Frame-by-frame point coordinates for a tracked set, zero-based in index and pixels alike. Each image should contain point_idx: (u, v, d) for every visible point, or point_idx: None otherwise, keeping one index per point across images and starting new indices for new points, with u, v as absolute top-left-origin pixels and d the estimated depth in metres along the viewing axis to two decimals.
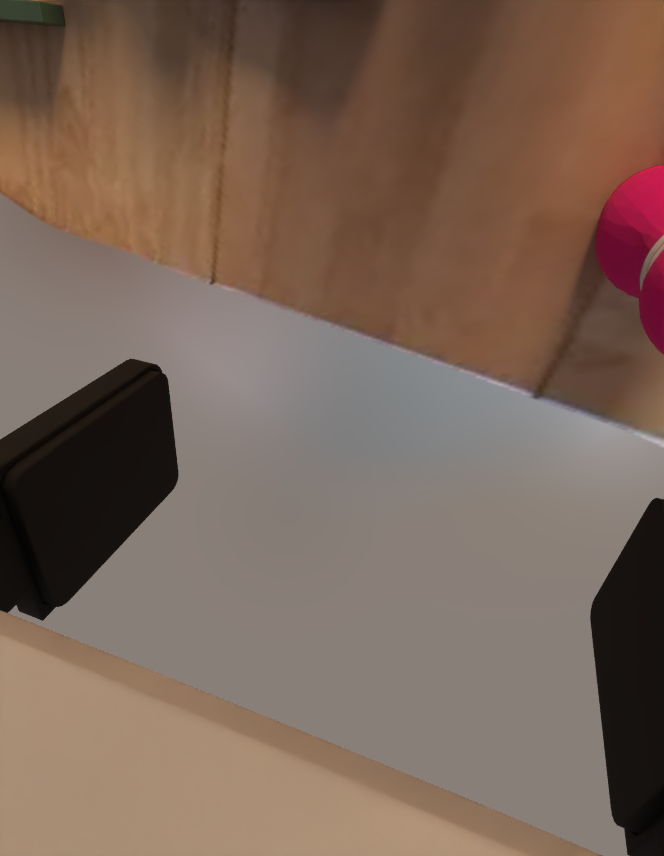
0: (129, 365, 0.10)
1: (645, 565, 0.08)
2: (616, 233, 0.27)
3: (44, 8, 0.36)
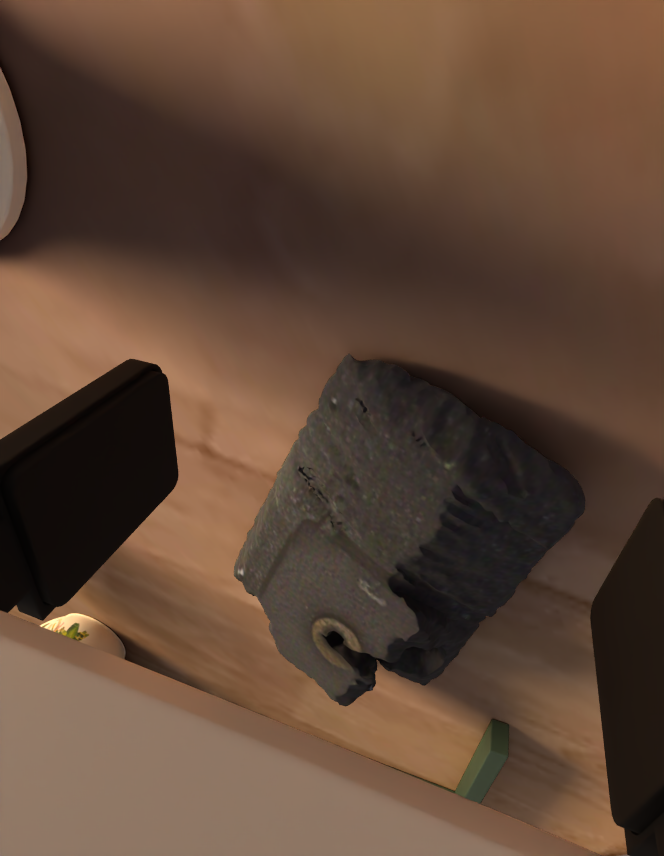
0: (129, 365, 0.10)
1: (645, 565, 0.08)
2: None
3: (496, 747, 0.34)
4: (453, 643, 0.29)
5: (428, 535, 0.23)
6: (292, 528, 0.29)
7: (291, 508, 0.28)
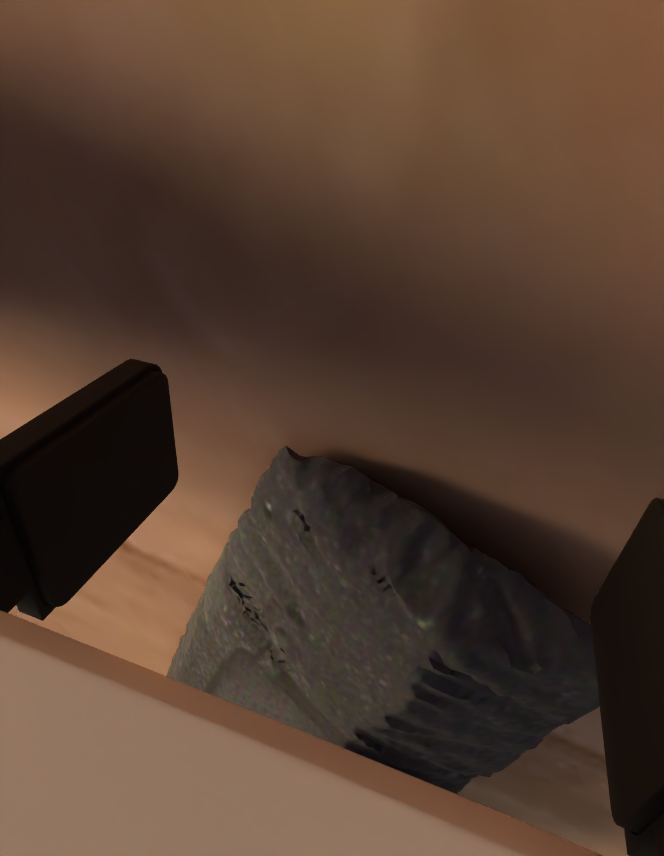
0: (129, 365, 0.10)
1: (645, 565, 0.08)
2: None
3: None
4: None
5: (397, 706, 0.16)
6: (224, 654, 0.22)
7: (222, 631, 0.21)
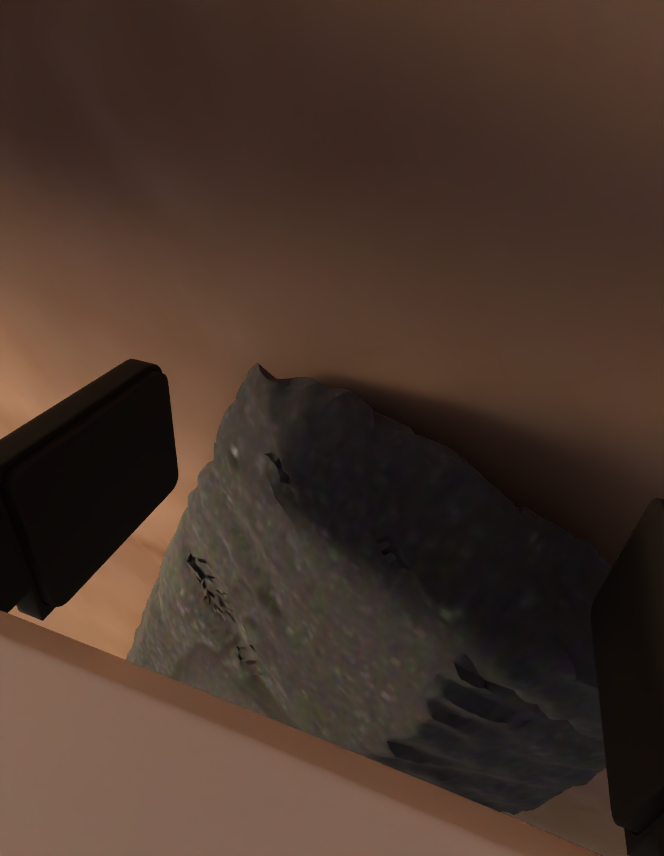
0: (129, 365, 0.10)
1: (645, 565, 0.08)
2: None
3: None
4: None
5: (405, 728, 0.12)
6: (182, 650, 0.17)
7: (179, 622, 0.16)
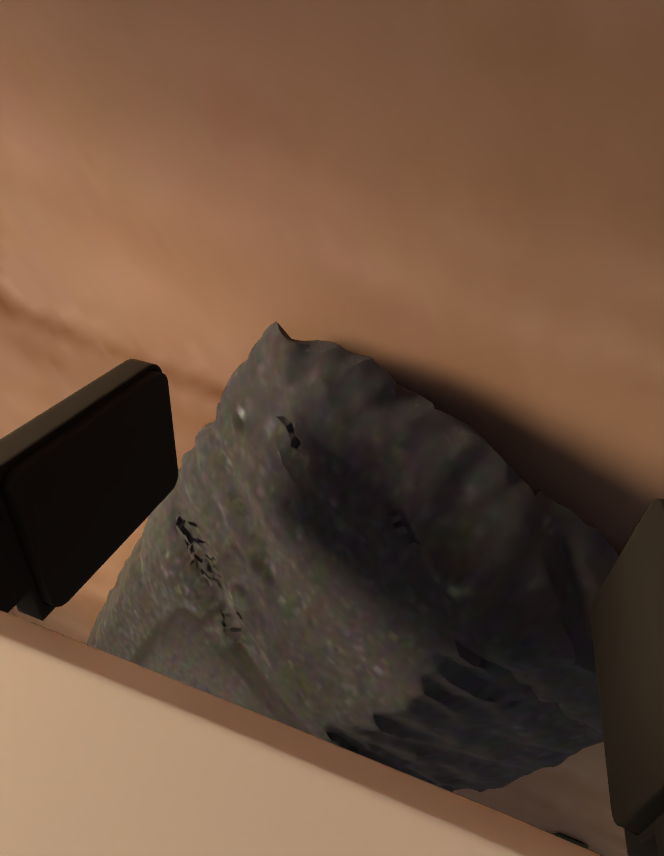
0: (129, 365, 0.10)
1: (645, 565, 0.08)
2: None
3: None
4: None
5: (394, 703, 0.12)
6: (161, 614, 0.17)
7: (161, 585, 0.16)
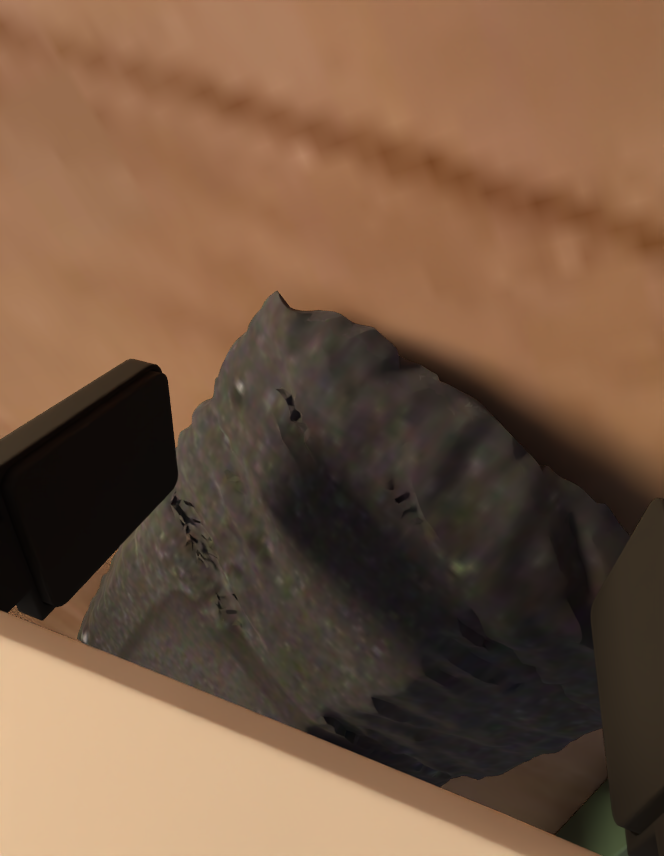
0: (129, 365, 0.10)
1: (645, 565, 0.08)
2: None
3: None
4: None
5: (393, 684, 0.12)
6: (155, 597, 0.16)
7: (156, 567, 0.16)
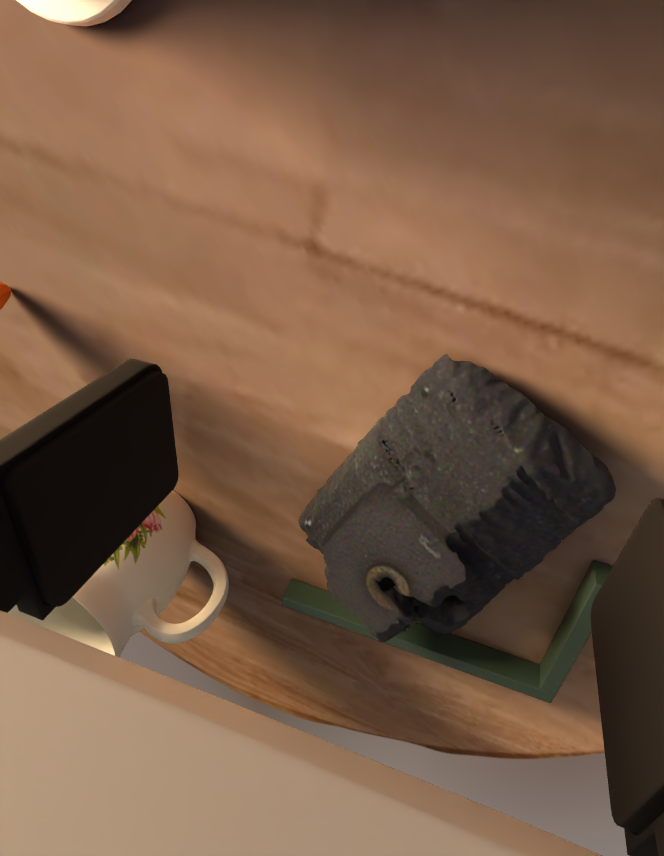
0: (129, 365, 0.10)
1: (645, 565, 0.08)
2: None
3: (601, 581, 0.32)
4: (482, 598, 0.36)
5: (489, 503, 0.30)
6: (367, 488, 0.35)
7: (370, 472, 0.34)
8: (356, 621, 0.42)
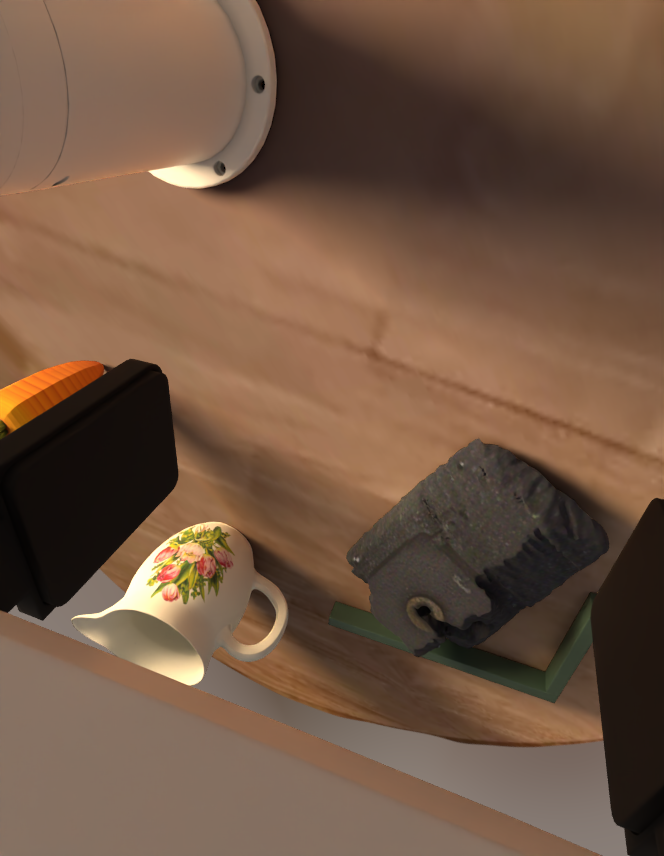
0: (129, 365, 0.10)
1: (645, 565, 0.08)
2: None
3: None
4: (501, 621, 0.45)
5: (511, 554, 0.38)
6: (409, 536, 0.43)
7: (412, 524, 0.43)
8: (393, 637, 0.51)
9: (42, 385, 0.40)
